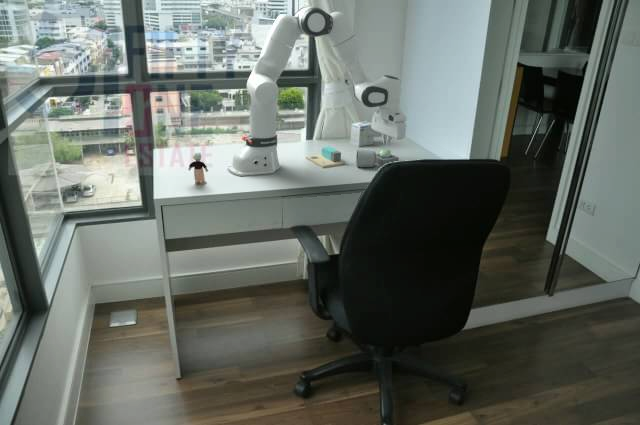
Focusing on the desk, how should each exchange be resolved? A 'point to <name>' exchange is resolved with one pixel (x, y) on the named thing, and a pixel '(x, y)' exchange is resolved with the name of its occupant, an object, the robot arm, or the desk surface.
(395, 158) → the button housing
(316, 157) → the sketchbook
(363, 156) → the ceramic mug
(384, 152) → the button
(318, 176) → the desk surface
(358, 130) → the light bulb box
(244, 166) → the robot arm
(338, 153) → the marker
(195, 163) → the grandmother figurine
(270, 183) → the desk surface
